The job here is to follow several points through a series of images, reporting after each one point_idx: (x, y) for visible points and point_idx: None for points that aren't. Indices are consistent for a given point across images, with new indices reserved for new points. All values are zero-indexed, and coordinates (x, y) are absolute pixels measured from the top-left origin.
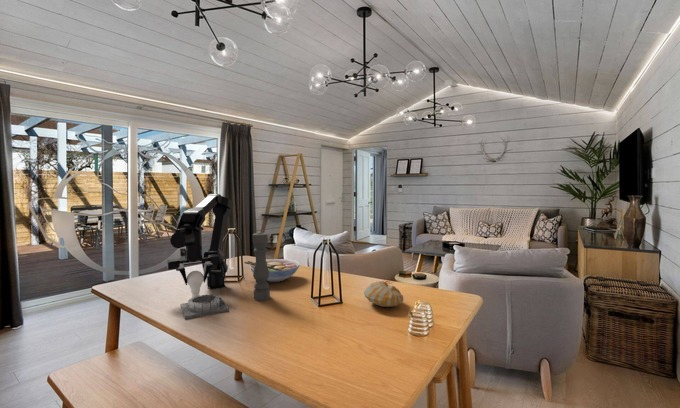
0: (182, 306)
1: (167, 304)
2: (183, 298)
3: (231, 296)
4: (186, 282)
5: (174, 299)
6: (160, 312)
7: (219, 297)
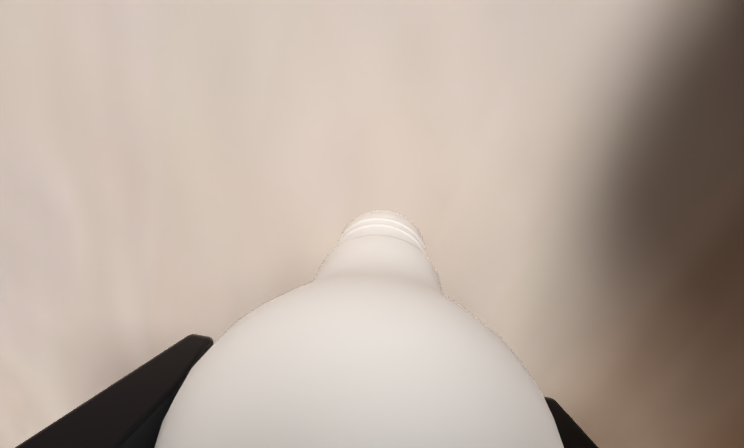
0: None
1: (63, 197)
2: (258, 99)
3: (707, 407)
4: None
5: (143, 54)
6: (18, 366)
7: None
